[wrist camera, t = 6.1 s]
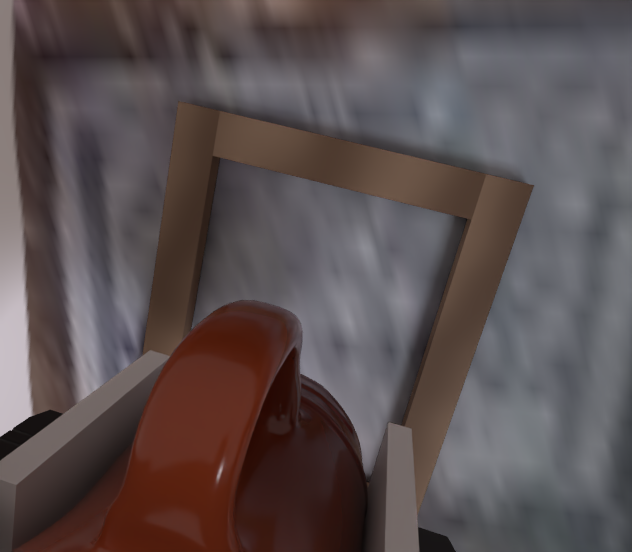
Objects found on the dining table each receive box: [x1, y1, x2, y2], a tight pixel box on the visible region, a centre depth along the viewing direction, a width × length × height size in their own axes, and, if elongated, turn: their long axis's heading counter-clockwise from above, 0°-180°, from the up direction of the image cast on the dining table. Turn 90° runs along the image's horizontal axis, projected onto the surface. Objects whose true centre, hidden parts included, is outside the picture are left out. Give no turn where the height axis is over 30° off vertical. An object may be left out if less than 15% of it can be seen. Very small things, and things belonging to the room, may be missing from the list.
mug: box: [11, 300, 368, 552], centre depth 11 cm, size 12×9×10 cm
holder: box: [142, 101, 534, 515], centre depth 23 cm, size 16×19×1 cm
